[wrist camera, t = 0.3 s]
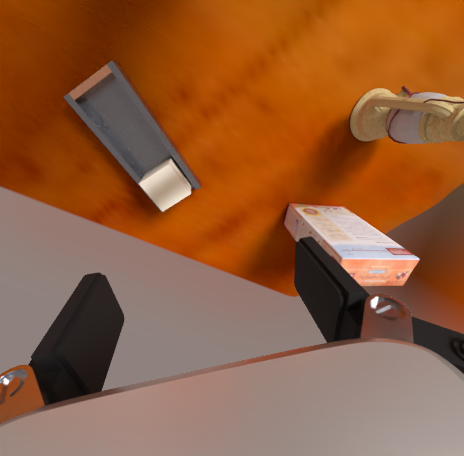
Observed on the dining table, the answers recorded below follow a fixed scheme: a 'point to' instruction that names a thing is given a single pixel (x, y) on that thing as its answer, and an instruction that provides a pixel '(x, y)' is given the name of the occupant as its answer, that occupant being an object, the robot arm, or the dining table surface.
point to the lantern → (408, 117)
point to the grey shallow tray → (125, 123)
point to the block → (166, 184)
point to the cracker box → (352, 243)
